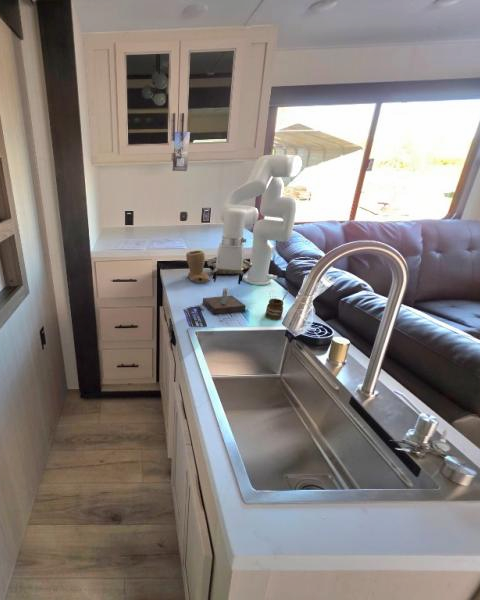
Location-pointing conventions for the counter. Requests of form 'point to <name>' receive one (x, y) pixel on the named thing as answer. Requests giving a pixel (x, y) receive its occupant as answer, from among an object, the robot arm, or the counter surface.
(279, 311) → the utensil holder
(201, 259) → the tan fabric boot shape
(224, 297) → the nozzle knob
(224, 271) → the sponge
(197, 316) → the counter surface
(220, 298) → the brown flat wooden block
